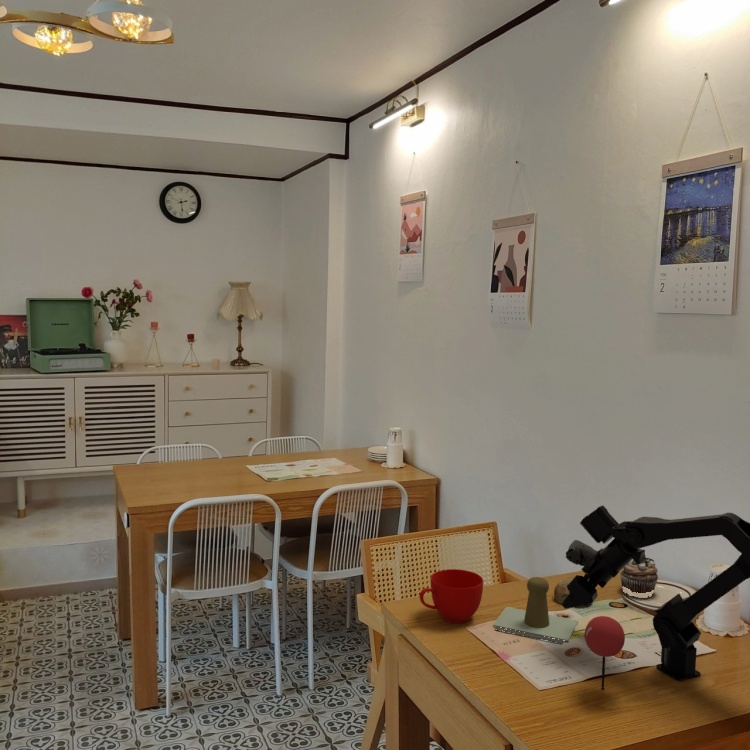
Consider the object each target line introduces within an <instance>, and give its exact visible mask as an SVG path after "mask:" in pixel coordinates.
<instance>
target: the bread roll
mask: <svg viewBox="0 0 750 750" xmlns="http://www.w3.org/2000/svg"><path fill="white" fill-rule="evenodd" d="M574 577H575V576H571V577H567V578H566V579H562V580H560V581H558V582H557V583H556V585H555V587H554V589H553V590H554V591H553V597H554V598H555V600H557V602H558V603H559V604H561V605H562V604H563V603H564V601H565V599H566V598H567V596H568V595H569V593H570V591H569V590H568V589H567V585H568V584H569V582H570V581H571V580H572V579H573V578H574ZM576 608H586V607H585V606H577V607H576Z"/></svg>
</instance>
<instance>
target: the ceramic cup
mask: <svg viewBox="0 0 750 750" xmlns="http://www.w3.org/2000/svg"><path fill="white" fill-rule="evenodd" d="M483 589H484V579H483V577H482V576H481V575H479V574H478V573H476V572H474V571H470V570H466V569H465V570H464V569H459V568H457V569H456V568H451V569H450V568H449V569H448V568H447V569H441V570H438V571H435V572H434V573H432V574H431V576H430V587H426V588H422V590H421V591H420V593H419V600H420V602H421V604H422V605H423V606H424V607H426V608H428V609H431V610H436V611H437V612H438V614H439V615H440V616H441V617H442V619H443V620H444V621H447V622H449V623H453V624H462V623H466V622H468V621H469V620H470V618H472V617H473V616H474V615H475V613H476V612H477V611H478V609H479V607H480V604H481V602H482V598H483V591H484V590H483ZM427 592H430V593H431V599H432V602H433V605H432V604H429V603H426V601H425V599H424V596H425V594H426V593H427Z"/></svg>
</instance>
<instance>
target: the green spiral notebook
mask: <svg viewBox="0 0 750 750" xmlns="http://www.w3.org/2000/svg"><path fill="white" fill-rule="evenodd" d="M525 613H526V609H520V608H516V607H511V606H510V607H509V606H506V607H505V608H504V609H503V611H502V612H501V614H499V616H498V617H497V618H496V620H495V621H494V623H492V627H493V626H497V627H502V628H507V629H511V630H516V631H520V632H525V633H529V634H534V635H539V636H545V637H550V638H555V639H559V640H565V641H569V642H570V640H571V638H570V637H572V636H573V634H574V632H575V630H576V628H577V626H578V624H579V620H576V619H572V618H568V617H567V618H566V617H561V616H557V615H556V616H555V615H551V614H548V615H549V626H547V627H545V628H534V627H530V626H528V625H526V624H525V623H524V619H525ZM577 623H578V624H577ZM576 625H577V626H576ZM575 627H576V628H575ZM574 629H575V630H574ZM573 631H574V632H573ZM572 633H573V634H572ZM571 635H572V636H571ZM569 639H570V640H569Z"/></svg>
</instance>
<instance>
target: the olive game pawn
mask: <svg viewBox="0 0 750 750" xmlns="http://www.w3.org/2000/svg"><path fill="white" fill-rule="evenodd" d="M526 589H527V590H528V596H527V602H526V608H525V610H526V613H525V619H524V623H525V624H526V625H528V626H530V627H534V628H545V627H547V626H549V615H550V614H549V606H548V597H547V595H548V594H547V593H548V591H549V589H550V583H549V582H548V580H547V579H545V578H543V577H539V576H533V577H530V578H529V579H528V580H527V583H526Z"/></svg>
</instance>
